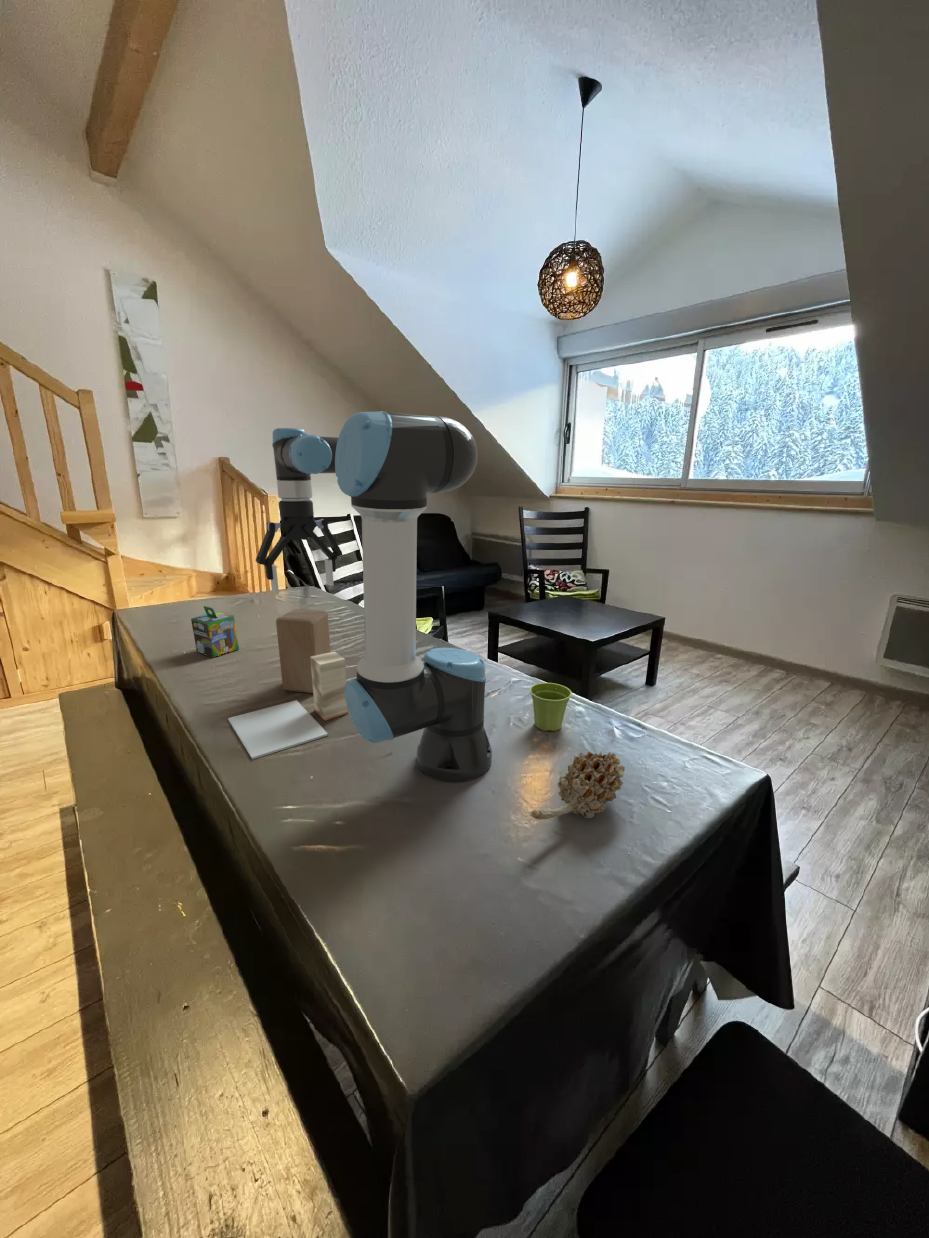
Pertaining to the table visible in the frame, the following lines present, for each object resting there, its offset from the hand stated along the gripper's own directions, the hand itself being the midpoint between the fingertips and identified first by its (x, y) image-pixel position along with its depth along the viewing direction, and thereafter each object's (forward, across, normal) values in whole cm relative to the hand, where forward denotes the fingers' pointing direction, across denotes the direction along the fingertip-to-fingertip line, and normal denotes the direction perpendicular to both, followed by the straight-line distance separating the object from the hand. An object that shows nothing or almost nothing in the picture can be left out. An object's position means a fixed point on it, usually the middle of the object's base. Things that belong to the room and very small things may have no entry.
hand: (303, 589), depth 123 cm
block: (+28, -1, -6) cm, 29 cm away
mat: (+28, +13, +12) cm, 33 cm away
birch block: (+28, 0, +12) cm, 31 cm away
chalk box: (+27, +12, -47) cm, 56 cm away
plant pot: (+29, -37, +48) cm, 67 cm away
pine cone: (+29, -18, +73) cm, 80 cm away
